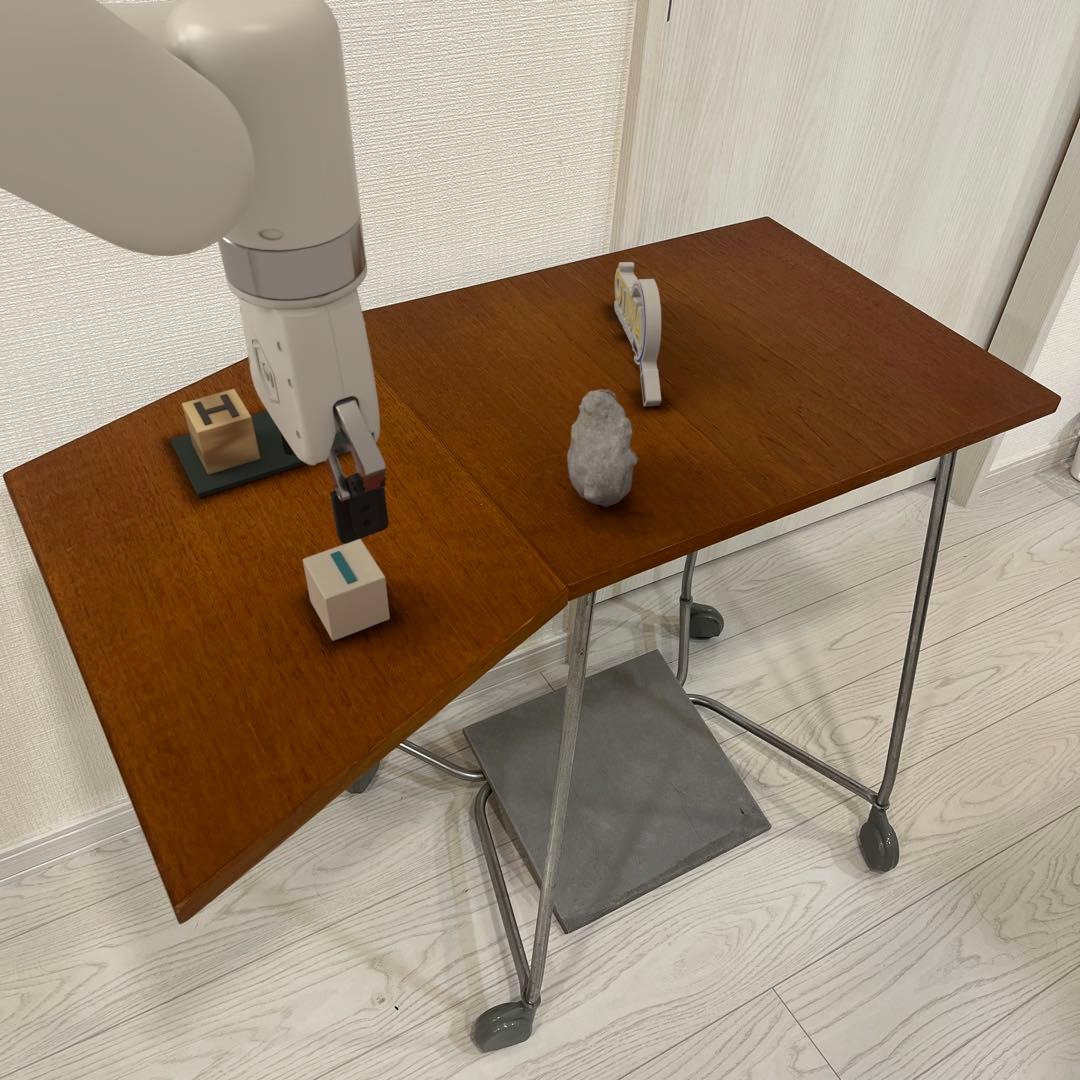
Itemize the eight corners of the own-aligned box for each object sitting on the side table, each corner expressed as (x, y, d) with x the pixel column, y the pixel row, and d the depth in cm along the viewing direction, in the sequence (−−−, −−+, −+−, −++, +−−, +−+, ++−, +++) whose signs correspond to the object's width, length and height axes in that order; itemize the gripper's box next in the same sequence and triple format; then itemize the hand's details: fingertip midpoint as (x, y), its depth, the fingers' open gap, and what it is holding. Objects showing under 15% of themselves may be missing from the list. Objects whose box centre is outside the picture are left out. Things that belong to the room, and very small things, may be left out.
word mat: (198, 498, 81) (197, 493, 81) (171, 443, 86) (170, 438, 86) (360, 447, 87) (360, 442, 86) (326, 398, 92) (325, 393, 91)
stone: (668, 515, 82) (684, 416, 75) (596, 543, 79) (606, 442, 72) (607, 450, 87) (616, 352, 80) (538, 474, 85) (542, 375, 78)
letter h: (208, 475, 83) (196, 431, 80) (192, 445, 85) (181, 401, 82) (260, 459, 84) (251, 415, 81) (243, 430, 87) (234, 387, 84)
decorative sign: (612, 336, 106) (616, 241, 101) (624, 336, 106) (629, 241, 101) (645, 410, 91) (653, 303, 86) (660, 410, 92) (668, 303, 86)
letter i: (332, 641, 71) (325, 598, 68) (310, 601, 74) (301, 557, 71) (390, 619, 73) (385, 575, 70) (366, 580, 75) (360, 536, 72)
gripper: (177, 198, 58) (235, 433, 70) (283, 348, 47) (330, 595, 59) (301, 170, 61) (337, 401, 73) (428, 307, 50) (444, 550, 62)
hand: (333, 488), depth 66 cm, fingers open, 9 cm apart
